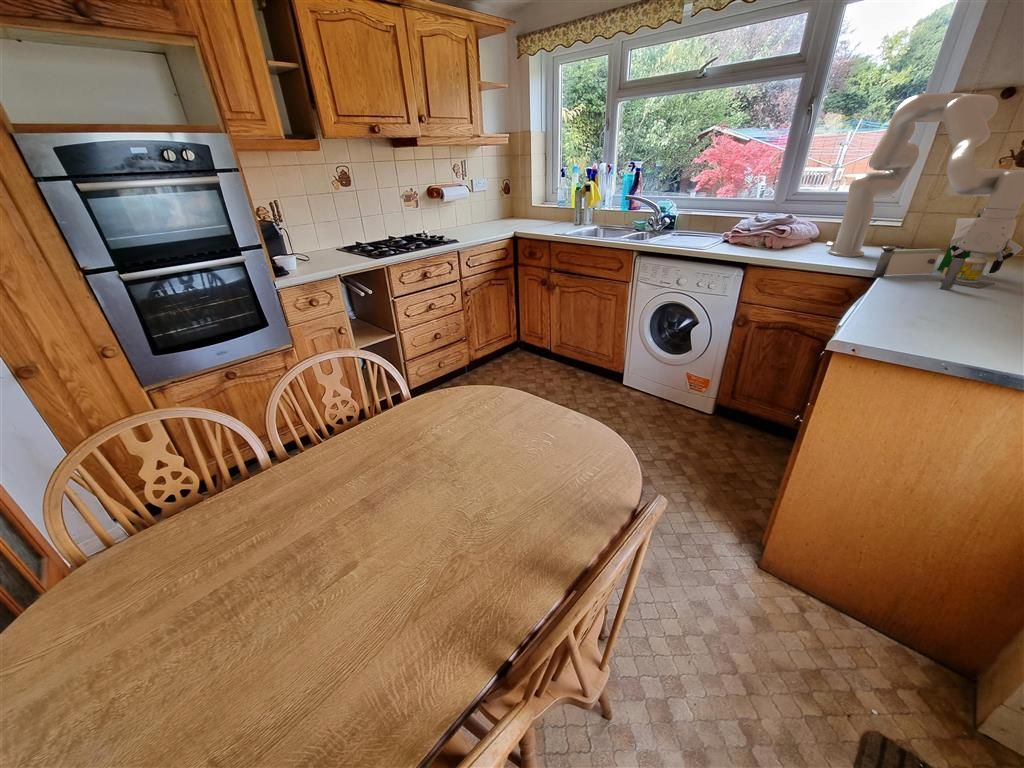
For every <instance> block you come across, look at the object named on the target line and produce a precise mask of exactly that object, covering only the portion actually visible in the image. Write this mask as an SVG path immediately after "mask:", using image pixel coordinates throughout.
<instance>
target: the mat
mask: <svg viewBox="0 0 1024 768" xmlns="http://www.w3.org/2000/svg"><path fill="white" fill-rule="evenodd" d="M956 278H957V277H956ZM943 280H944V279H941V280H940V282H943ZM957 284H958V285H957ZM995 284H996V282H991V281H986V280H981V279H979V280H978V282H977V283H965V282H960V281H957V280H956V279H955V281H954V283H953V285H957V286H964V287H968V288H973V289H974V288H975V289H980V288H984V287H989V286H992V285H995Z"/></svg>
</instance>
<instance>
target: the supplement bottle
mask: <svg viewBox="0 0 1024 768" xmlns="http://www.w3.org/2000/svg"><path fill="white" fill-rule="evenodd" d="M988 255H989V254H988V253H980V252H972V251H971V253H970V257H968V258H966V259H965V260H964V262H963V264H962V267H961V269H960V271H959V273H958V275H957V278H956V280H957V281H960V282H965V283H977V282H978V280H980V278H981V275H982V274H983V272H984V270H985V268H986V265H987V264H988V259H987V256H988Z"/></svg>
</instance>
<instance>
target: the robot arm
mask: <svg viewBox="0 0 1024 768" xmlns="http://www.w3.org/2000/svg"><path fill="white" fill-rule="evenodd" d="M998 109H999V102H998V98H996V96H994V95H991V94H978V93H977V94H976V93H975V94H974V93H963V92H962V93H961V92H929V93H928V92H927V93H920V94H915V95H913V96H910V97H908V98H906V99H905V100H903V101H902V102H901V103H900V104H899V105H898V107H896V109H895V111H894V112H893V115H892V117H891V119H890V120H889V121H890V122H889V124H888V126H887V128H886V129H885V132H884V134H883V135H882V136H881V138H880V140H879V141H878V144H876V146H875V148H874V151H873V152H872V154H871V156H870V158H869V160H868V167H869V168H870V169H871V170H873V171H882V172H867V173H866V172H865V173H862V174H860V175H858V176H856V177H855V178H854V179H853V180H852V181H851V183H850V185H849V188H848V197H847V204H846V207H845V211H844V213H843V218H842V220H841V224H840V226H839V227H840V228H839V230H838V233H837V237H836V239H835V241H827V242H826V244H825V247H830V249H829V250H828V254H830V255H833V256H839V257H849V258H850V257H852V258H855V257H863V256H864V255H865V252H864V251H863V250H862V248H863V244H864V242H865V238H866V236H867V232H868V229H869V227H870V223H871V222H872V217H873V215H874V211H875V203H874V202H875V201H874V199H882V198H888V197H891V196H892V195H894V194H895V193H896V192H897V191H898V190H899V189H900V187H901V186H902V184H903V183H904V181H905V180H906V178H908V175H909V174H910V172H911V171H912V169H913V168H914V166H915V165H916V164H917V161H918V158H919V155H920V148H919V146H918V145H917V144H916V143H914V142H911V141H910V140H911V138H912V136H913V135H914V133H915V130H916V123H938V122H940V123H941V122H942V123H943V124H944V127H945V130H946V133H947V135H948V138H949V141H950V144H951V145H950V146H951V148H952V153H951V154H950V155H949V158H948V161H947V164H946V176H947V178H948V182H949V185H950V187H951V188H952V190H953V192H954V193H956V194H958V195H959V196H977V195H980V196H982V195H983V196H984V195H989V197H988V199H987V200H986V204H985V206H984V207H983V208H979V209H977V211H976V214H980V216H981V217H980V218H977V217H975V218H976V219H975V220H974V222H973V223H972V225H971V226H970V228H969V230H968V231H967V233H966V235H965V236H963V237H960V238H956V239H952V238H951V239H950V240H949V242H950V243H949V244H951V249H952V251H953V252H954V255H955V256H954V258H960V259H962V258H963V252H965V251H972V252H980V253H988V255H989V254H991V255H994V256H995V258H996V260H994V261H993V262H992V265H991V267H990V269H989V270H988V273H989V274H995V273H997V272H998V271H1000V270H1001V267H1002V265H1003V263H1004V262H1005V261H1006V260H1008V259H1010V258H1012V257H1014V256H1016V254H1018V253H1020V252H1021V251H1022V250H1023V249H1024V248H1023V247H1022V246H1021V245H1020V244H1018V243H1016V242H1015V241H1014V240H1012V239H1013V235H1014V233H1015V230H1016V225H1017V219H1015V218H1016V217H1017V214H1018V212H1019V210H1020V208H1021V206H1022V204H1023V202H1024V169H1007V168H999V167H997V168H995V167H994V168H978V167H977V166H978V165H977V163H976V160H975V157H974V156H975V155H974V154H975V150H976V148H978V147H981V145H983V144H985V142H987V141H988V140H989V139H990V137H991V134H992V132H991V130H990V127H989V125H988V123H987V122H989V120H991V119H992V118H993V117H994V116H995V114H996V113H997V111H998ZM883 171H884V172H883ZM959 241H962V242H961V245H960V248H959V247H958V245H957V243H958V242H959ZM1008 247H1009V248H1011V249H1012V250H1011V251H1010V252H1009V253H1006V251H1007V250H1008ZM954 258H953V259H954Z"/></svg>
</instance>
